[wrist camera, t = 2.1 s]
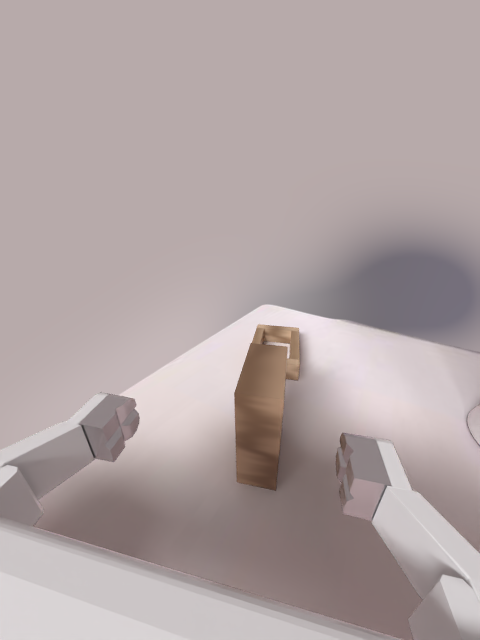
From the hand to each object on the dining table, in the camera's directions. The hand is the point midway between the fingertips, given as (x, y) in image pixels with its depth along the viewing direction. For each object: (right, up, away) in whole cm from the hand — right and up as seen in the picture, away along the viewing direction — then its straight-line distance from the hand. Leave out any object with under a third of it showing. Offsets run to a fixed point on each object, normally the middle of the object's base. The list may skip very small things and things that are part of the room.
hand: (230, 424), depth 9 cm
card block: (+3, -11, +19) cm, 22 cm away
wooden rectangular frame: (+7, -3, +36) cm, 37 cm away
